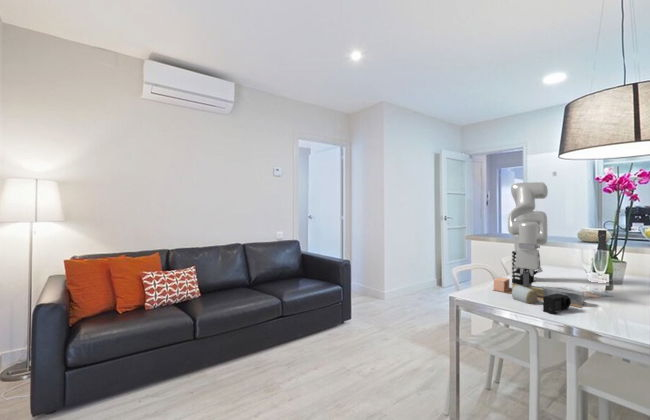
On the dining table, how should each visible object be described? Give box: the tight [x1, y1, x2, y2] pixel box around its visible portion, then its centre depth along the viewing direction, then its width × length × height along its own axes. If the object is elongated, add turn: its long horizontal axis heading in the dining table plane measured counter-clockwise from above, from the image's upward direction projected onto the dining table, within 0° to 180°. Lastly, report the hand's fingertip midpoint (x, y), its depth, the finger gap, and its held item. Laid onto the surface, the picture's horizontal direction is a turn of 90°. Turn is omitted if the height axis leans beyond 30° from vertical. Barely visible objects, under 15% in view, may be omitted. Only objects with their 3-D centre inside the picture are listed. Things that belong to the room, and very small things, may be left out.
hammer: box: [511, 272, 543, 296], centre depth 152 cm, size 4×22×10 cm, turn 41°
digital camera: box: [542, 293, 571, 315], centre depth 133 cm, size 10×5×7 cm, turn 114°
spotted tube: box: [511, 250, 530, 285], centre depth 171 cm, size 8×8×20 cm
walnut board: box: [491, 287, 587, 309], centre depth 153 cm, size 12×37×1 cm, turn 40°
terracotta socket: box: [493, 276, 510, 292], centre depth 165 cm, size 8×5×6 cm, turn 130°
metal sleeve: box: [543, 286, 585, 307], centre depth 144 cm, size 5×15×5 cm, turn 40°
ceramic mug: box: [511, 285, 539, 304], centre depth 146 cm, size 11×8×8 cm
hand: (527, 282), depth 155 cm, fingers closed on hammer, 2 cm apart
